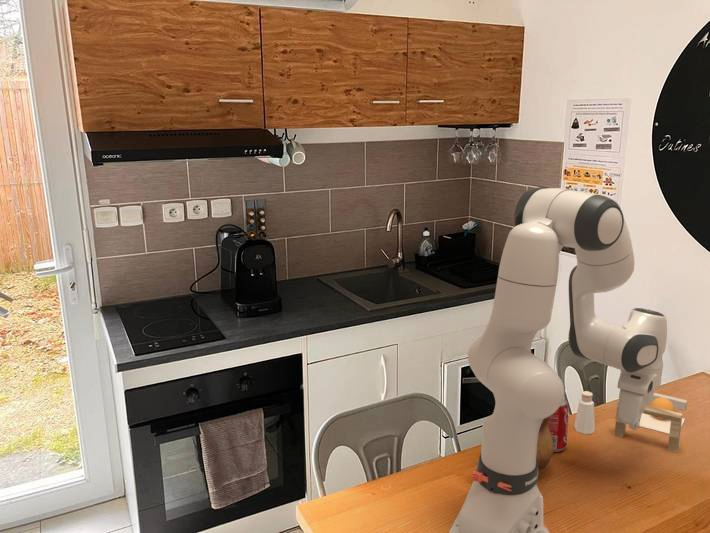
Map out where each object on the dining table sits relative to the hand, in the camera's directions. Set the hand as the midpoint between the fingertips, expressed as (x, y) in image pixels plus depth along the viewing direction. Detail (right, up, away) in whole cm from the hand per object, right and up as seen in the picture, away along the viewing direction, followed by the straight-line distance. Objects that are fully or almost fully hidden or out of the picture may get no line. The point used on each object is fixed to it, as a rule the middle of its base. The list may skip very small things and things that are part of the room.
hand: (634, 427), depth 143 cm
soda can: (-16, -8, +11) cm, 21 cm away
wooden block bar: (+26, -2, +33) cm, 42 cm away
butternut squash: (-27, -11, 0) cm, 29 cm away
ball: (+20, -1, +24) cm, 31 cm away
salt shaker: (-5, -6, +19) cm, 21 cm away
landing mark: (+18, -5, +23) cm, 29 cm away
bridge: (+9, -7, +12) cm, 17 cm away
